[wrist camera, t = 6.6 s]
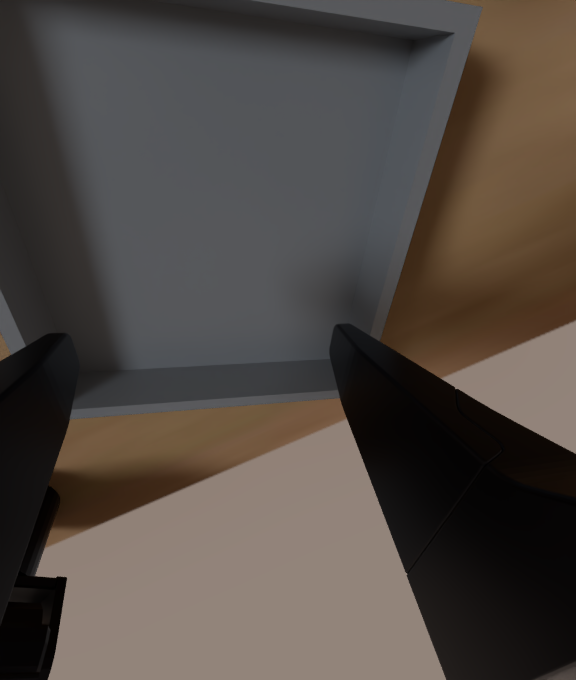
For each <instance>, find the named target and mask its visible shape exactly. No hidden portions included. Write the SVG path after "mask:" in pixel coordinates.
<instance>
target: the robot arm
mask: <svg viewBox="0 0 576 680" xmlns="http://www.w3.org/2000/svg"><path fill="white" fill-rule="evenodd" d="M329 356H330V360H331V364H332V368H333V372H334V376H335V380H336V384H337V388H338V392H339V396H340V400H341V403H342V406H343V409H344V412H345V414H346V417H347V420H348V422H349V425H350V428H351V430H352V433H353V435H354V438H355V440H356V443H357V446H358V448H359V451H360V454H361V456H362V459H363V462H364V464H365V467H366V470H367V472H368V475H369V477H370V480H371V483H372V485H373V488H374V490H375V493H376V496H377V498H378V501H379V504H380V506H381V509H382V512H383V514H384V517H385V519H386V522H387V525H388V527H389V530H390V532H391V535H392V538H393V540H394V543H395V545H396V548H397V551H398V553H399V556H400V559H401V561H402V564H403V567H404V569H405V572H406V573H407V577H408V580H409V583H410V586H411V588H412V591H413V593H414V596H415V599H416V601H417V604H418V607H419V609H420V612H421V614H422V617H423V619H424V622H425V625H426V627H427V630H428V633H429V635H430V638H431V641H432V643H433V646H434V648H435V651H436V654H437V656H438V659H439V662H440V664H441V667H442V670H443V672H444V675H445V677H446V680H576V454H575V453H573V452H571V451H569V450H567V449H565V448H563V447H562V446H559V445H558V444H556V443H554V442H552V441H550V440H548V439H546V438H544V437H543V436H541V435H539V434H537V433H535V432H533V431H531V430H529V429H527V428H525V427H524V426H522V425H520V424H518V423H516V422H514V421H512V420H511V419H509V418H507V417H505V416H503V415H501V414H499V413H497V412H496V411H494V410H492V409H490V408H489V407H487V406H485V405H484V404H482V403H480V402H478V401H477V400H475V399H473V398H472V397H470V396H468V395H467V394H465V393H464V392H462V391H460V390H459V389H456V390H455V387H454V386H452V385H450V384H449V383H447V382H445V381H444V380H442V379H441V378H439V377H437V376H436V375H434V374H432V373H431V372H429V371H427V370H426V369H424V368H422V367H421V366H419V365H418V364H416V363H414V362H413V361H411V360H409V359H408V358H406V357H404V356H403V355H401V354H400V353H398V352H396V351H395V350H393V349H391V348H390V347H388V346H386V345H385V344H383V343H381V342H380V341H378V340H377V339H375V338H373V337H372V336H370V335H368V334H367V333H365V332H363V331H362V330H360V329H358V328H357V327H355V326H354V325H352V324H350V323H342V324H336V325H335V326H334V328H333V333H332V337H331V342H330V347H329ZM79 371H80V361H79V358H78V355H77V352H76V349H75V346H74V343H73V340H72V338H71V336H70V335H69V334H68V333H48V334H46V335H44V336H42V337H41V338H39V339H37V340H35V341H34V342H32V343H30V344H29V345H27V346H25V347H24V348H22V349H20V350H18V351H17V352H15V353H13V354H12V355H10V356H8V357H7V358H5V359H3V360H2V361H0V680H48V677H49V674H50V670H51V667H52V663H53V659H54V655H55V650H56V644H57V638H58V632H59V625H60V619H61V613H62V606H63V600H64V593H65V587H66V581H67V578H66V577H56V578H49V577H37V576H35V574H36V571H37V568H38V565H39V562H40V560H41V556H42V554H43V551H44V548H45V545H46V542H47V539H48V536H49V533H50V530H51V527H52V524H53V521H54V518H55V515H56V513H57V510H58V507H59V504H60V497H59V495H58V493H57V492H56V491H55V490H54V489H53V488H52V487H50V486H48V484H49V481H50V478H51V476H52V473H53V470H54V467H55V464H56V461H57V458H58V455H59V452H60V449H61V446H62V443H63V440H64V438H65V435H66V431H67V428H68V425H69V420H70V416H71V411H72V406H73V401H74V396H75V391H76V386H77V381H78V376H79Z"/></svg>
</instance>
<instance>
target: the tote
mask: <svg viewBox="0 0 576 680" xmlns="http://www.w3.org/2000/svg"><path fill="white" fill-rule="evenodd" d="M481 11H482V7H479V6H474V5H468V4H462V3H457V2H451V1H446V0H0V332H1V334H2V336H3V338H4V340H5V342H6V344H7V346H8V349H9V351H10V353H11V355H12V354H13V353H15V352H17V351H18V350H20V349H22V348H24V347H25V346H27V345H29V344H30V343H32V342H34V341H35V340H37V339H39V338H41V337H42V336H44V335H46V334H48V333H68V334H69V335H70V336H71V338H72V340H73V343H74V346H75V349H76V352H77V355H78V358H79V361H80V371H79V376H78V381H77V386H76V391H75V396H74V401H73V406H72V411H71V416H70V419H79V418H92V417H105V416H117V415H130V414H143V413H156V412H168V411H181V410H194V409H207V408H220V407H232V406H245V405H258V404H271V403H283V402H296V401H309V400H322V399H334V398H340V396H339V392H338V388H337V384H336V380H335V376H334V372H333V368H332V364H331V360H330V356H329V347H330V342H331V337H332V333H333V328H334V326H335V325H336V324H342V323H350V324H352V325H354V326H355V327H357V328H358V329H360V330H362V331H363V332H365V333H367V334H368V335H370V336H372V337H373V338H375V339H377V340H378V341H380V339H381V336H382V333H383V329H384V326H385V323H386V320H387V316H388V313H389V310H390V307H391V303H392V300H393V297H394V294H395V290H396V287H397V284H398V281H399V277H400V274H401V271H402V268H403V264H404V261H405V258H406V255H407V251H408V248H409V245H410V241H411V238H412V235H413V232H414V228H415V225H416V222H417V219H418V215H419V212H420V209H421V206H422V202H423V199H424V196H425V193H426V189H427V186H428V183H429V180H430V176H431V173H432V170H433V167H434V163H435V160H436V157H437V154H438V150H439V147H440V144H441V141H442V137H443V134H444V131H445V128H446V124H447V121H448V118H449V115H450V111H451V108H452V105H453V102H454V98H455V95H456V92H457V89H458V85H459V82H460V79H461V76H462V72H463V69H464V66H465V63H466V59H467V56H468V53H469V50H470V46H471V43H472V40H473V37H474V33H475V30H476V27H477V24H478V20H479V17H480V14H481Z"/></svg>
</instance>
